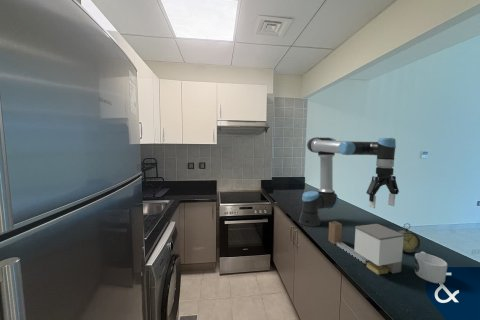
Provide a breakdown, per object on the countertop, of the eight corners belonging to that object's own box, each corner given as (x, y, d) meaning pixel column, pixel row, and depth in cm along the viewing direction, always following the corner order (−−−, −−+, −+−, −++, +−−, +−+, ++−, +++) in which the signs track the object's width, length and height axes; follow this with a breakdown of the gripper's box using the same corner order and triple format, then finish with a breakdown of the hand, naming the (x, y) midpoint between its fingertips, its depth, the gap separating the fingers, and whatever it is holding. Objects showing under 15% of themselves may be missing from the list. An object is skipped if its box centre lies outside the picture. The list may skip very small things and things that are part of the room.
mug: (451, 287, 82) (453, 268, 82) (419, 280, 86) (421, 262, 86) (434, 268, 95) (435, 252, 94) (407, 263, 99) (408, 248, 98)
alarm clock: (397, 253, 108) (399, 224, 107) (391, 248, 113) (393, 220, 112) (419, 255, 107) (422, 226, 105) (412, 250, 112) (414, 222, 111)
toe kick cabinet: (353, 260, 101) (355, 226, 100) (375, 256, 105) (377, 223, 104) (377, 277, 88) (380, 238, 87) (401, 271, 92) (404, 234, 91)
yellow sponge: (366, 267, 96) (366, 262, 95) (376, 265, 97) (376, 261, 97) (378, 275, 90) (378, 270, 90) (388, 273, 91) (388, 268, 91)
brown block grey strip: (328, 240, 122) (329, 221, 121) (335, 239, 123) (335, 221, 122) (363, 264, 98) (365, 240, 97) (371, 262, 99) (373, 239, 98)
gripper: (373, 168, 97) (370, 210, 99) (409, 167, 104) (406, 206, 106) (360, 166, 104) (357, 206, 106) (394, 166, 112) (391, 202, 113)
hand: (381, 206), depth 106 cm, fingers open, 13 cm apart
